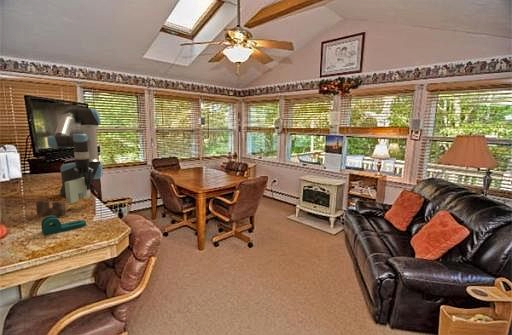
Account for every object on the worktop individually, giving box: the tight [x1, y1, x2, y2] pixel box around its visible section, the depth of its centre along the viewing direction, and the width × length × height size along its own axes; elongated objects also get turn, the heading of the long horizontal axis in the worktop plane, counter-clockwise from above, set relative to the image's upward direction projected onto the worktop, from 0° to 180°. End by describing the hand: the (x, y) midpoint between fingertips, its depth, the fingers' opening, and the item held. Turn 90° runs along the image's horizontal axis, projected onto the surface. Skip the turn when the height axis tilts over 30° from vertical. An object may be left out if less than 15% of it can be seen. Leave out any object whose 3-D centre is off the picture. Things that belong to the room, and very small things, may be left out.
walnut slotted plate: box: [35, 200, 67, 218], centre depth 153 cm, size 16×2×8 cm, turn 83°
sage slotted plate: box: [65, 177, 92, 205], centre depth 164 cm, size 16×3×13 cm, turn 173°
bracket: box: [41, 215, 87, 237], centre depth 134 cm, size 18×7×8 cm, turn 137°
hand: (84, 194), depth 170 cm, fingers closed on sage slotted plate, 3 cm apart
